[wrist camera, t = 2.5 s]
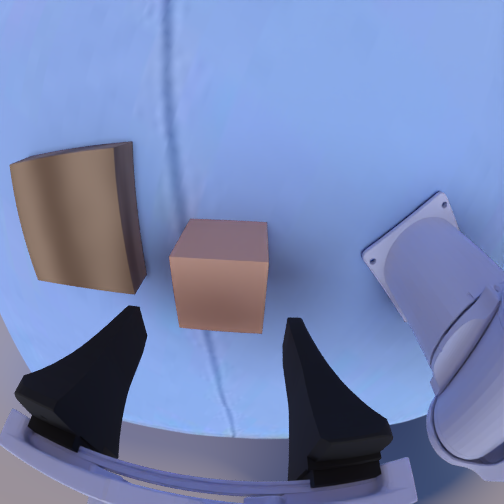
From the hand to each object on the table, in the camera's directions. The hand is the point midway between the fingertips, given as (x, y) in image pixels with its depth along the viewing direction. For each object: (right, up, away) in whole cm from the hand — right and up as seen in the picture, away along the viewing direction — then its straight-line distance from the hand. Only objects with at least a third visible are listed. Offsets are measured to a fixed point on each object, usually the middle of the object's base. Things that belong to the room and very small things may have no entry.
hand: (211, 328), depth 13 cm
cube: (0, +4, +6) cm, 7 cm away
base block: (-11, +7, +5) cm, 14 cm away
